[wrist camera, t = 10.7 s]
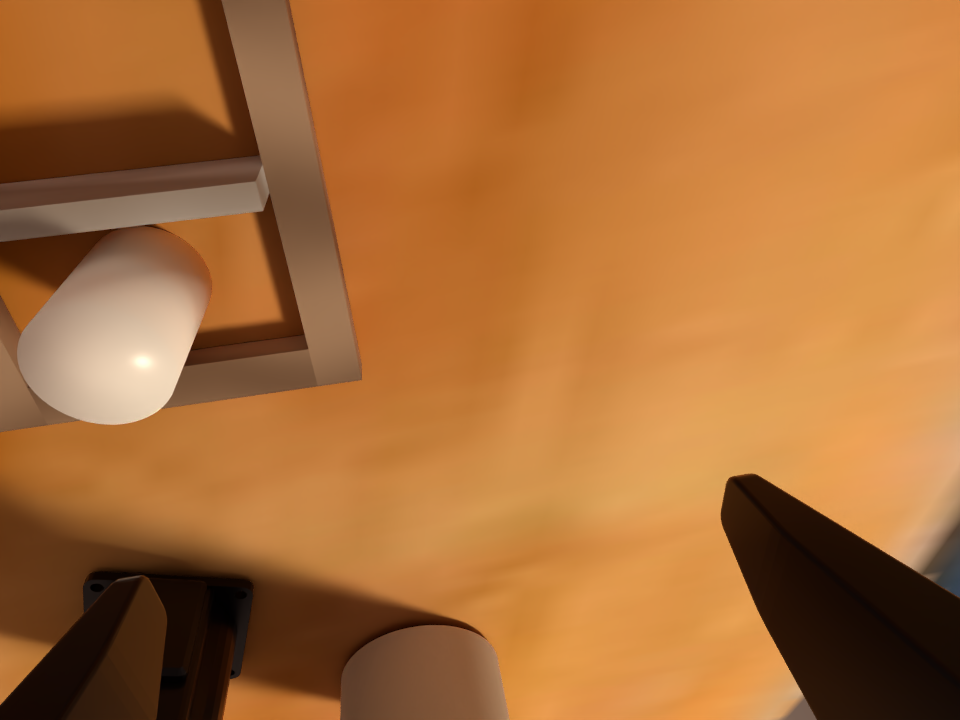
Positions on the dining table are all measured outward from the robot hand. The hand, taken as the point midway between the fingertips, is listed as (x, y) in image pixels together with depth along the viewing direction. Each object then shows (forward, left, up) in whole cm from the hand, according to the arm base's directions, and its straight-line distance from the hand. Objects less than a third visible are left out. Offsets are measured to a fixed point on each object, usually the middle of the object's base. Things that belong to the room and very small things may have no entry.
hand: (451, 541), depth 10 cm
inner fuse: (-3, +7, -13) cm, 15 cm away
